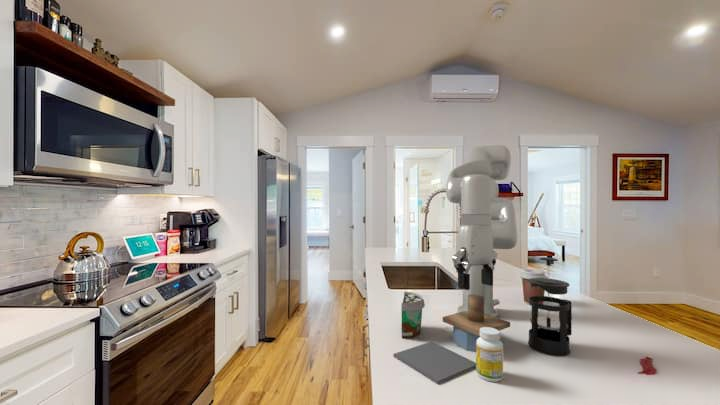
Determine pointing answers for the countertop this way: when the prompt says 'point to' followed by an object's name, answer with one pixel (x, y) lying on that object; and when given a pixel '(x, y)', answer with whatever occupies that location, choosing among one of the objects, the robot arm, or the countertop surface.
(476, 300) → the lid
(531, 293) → the coffee cup
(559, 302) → the french press
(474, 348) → the bowl
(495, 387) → the countertop surface
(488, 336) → the supplement bottle
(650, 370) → the cayenne pepper
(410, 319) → the food container
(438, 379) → the mat
